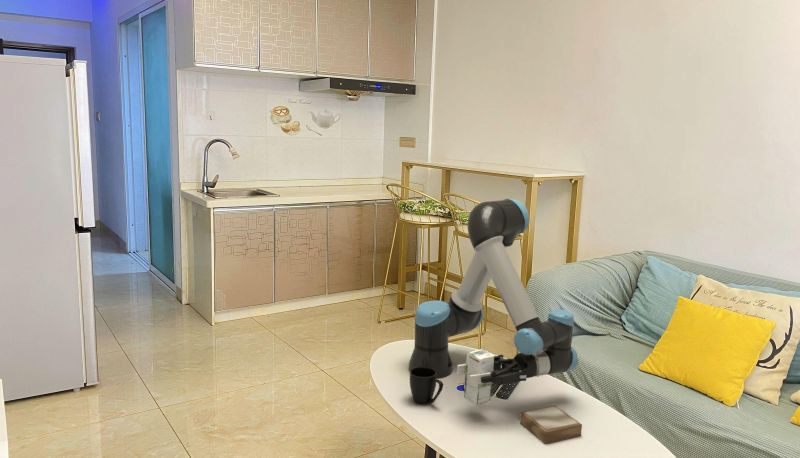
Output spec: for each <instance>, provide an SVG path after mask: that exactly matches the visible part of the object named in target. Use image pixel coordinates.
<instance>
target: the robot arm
mask: <svg viewBox="0 0 800 458" xmlns="http://www.w3.org/2000/svg"><path fill="white" fill-rule="evenodd" d="M529 224H530V214H529V211H528V209H527V207H526V206H525V204H524V203H523V202H522V201H520V200H518V199H513V198H511V199H510V198H505V199H503V200H502V199H500V200H492V201H484V202H480V203H478V204H476V205H475V206H474V207H473V208H472V209H471V211H470V213H469V215H468V218H467V232H468V237H469V240H470V242H471V246H472V248H473V249H474V254H473V256H472V259H470V263H469V265H468V267H467V268H466V269H467V270H466V272H465V274H464V276H463V279H462V281H461V283H460V285H459V288H458V289H456V290H454V291H452V292H451V294H450V297H449V299H448V301H447V302H446V301H443V300H429V301H424V302H422V303H420V304H419V305H418V306H417V307H416V308H415V316H414V347H413V351H412V354H411V356H410V359H409V362H408V370H409V372H410V370H411V369H413V368H415V367H429V368H432V369H434V370H435V371H436V372H437V374H436V379H440V378H445V377H448V376H450V375H451V374H452V372H453V362H452V358H451V353H450V351H449V338H451V337H454V336H457V335H461V334H466V333H468V332H470V331H472V330H475V329H477V328H478V327H479V326H480V325H481V323H482V322H483V319H484V313H483V311H484V308H483V305H484V304H483V302H482V298H483V296H484V294H485V292H486V290H487V288H488V286H489V284H490V281H491V280H492V281H493V284H494V286H495V288H496V290H497V292H498V295H499V296H500V298H501V300H502V303H503V305H504V307H505V309H506V311H507V313H508V315H509V317H510V320H511V322H512V323H513V326H514V328H515V330H516V332H515V334H514V337H513V340H514V347H515V348H516V350H517V351H518V352H519V353H517V354H515V356H514V357H513V358H504V355H503V354H498V355H493V356H494V365H493V371H492V375H491V373H490V372H488V373H482V374H475V375H470V377H469V385H476V384H482V383H488V382H492V384H495V383H496V386H503V385H504V386H505V385H508V384H512V383H516V382H525V381H527V379H530V378H534V377H540V376H547V375H553V374H560V373H561V374H562V373H567V372H570V371H573V370H575V369H576V368H577V367H578V365H579V357H578V355H579V354H578V353H577V350H576V349H575V348H574V347H573V346H572V343H573V335H574V334H573V333H574V327H575V326H574V320H575V317H574V315H573V313H572V312H571V311H569V310H566V309H561V308H560V309H557V308H556V309H554V308H553V309H551V310H550V311H549V313H548V316H547V320H545V321H541V319H540V317H539V315H538V313H537V311H536V309H535V307H534V305H533V303H532V301H531V299H530V297H529V295H528V292H527V291H526V289H525V286H524V284H523V283H522V282H523V281H522V280H521V279H520V276H519V275H518V272H517V270H516V268H515V266H514V264H513V262H512V260H511V257H510V255H509V254H508V251H507V249H506V248H509V247H512V246H513V244H514V242H515V240H516V238H517V237H518V235H520V234H522V233H524V232H525V231H527V229H528V228H529ZM465 372H466V363H462V364H457V366H456V374H457V375H458V376H460V375H464V374H465Z"/></svg>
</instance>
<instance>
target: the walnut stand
mask: <svg viewBox="0 0 800 458" xmlns="http://www.w3.org/2000/svg"><path fill="white" fill-rule="evenodd" d="M519 423H520V424H521V426H523V427H524V428H525V429H526V430H527V431H529V432H530V433H531V434H532V435H534V437H536V438H537V439H538V440H539V441H541V442H542V443H544V444H545V445H548V444H553V443H557V442H561V441H566V440H570V439H575V438H579V437H581V436H582V428H583V424H582V423H580V422H579V421H578V420H576V419H575V418H573V417H572V416H571V415H569V414H568V413H566V412H565V411H563V410H562V408H559V407H558V406H557V405H550V406H546V407H540V408H537V409H536V408H535V409H531V410H526V411H521V412H520V420H519Z"/></svg>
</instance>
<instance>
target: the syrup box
mask: <svg viewBox="0 0 800 458" xmlns="http://www.w3.org/2000/svg"><path fill="white" fill-rule="evenodd" d="M494 356H495V355H493V354H492V353H491V352H489V351H487V350H486V349H485V350H484V349H483V348H480V349H477V350H473V351H470V352H466V361H465V364H466V372H465V375H464V388H463V398H464V399H465V400H467V401H468V402H470V403H472V404H473V405H476V406H479V405H482V404H485V403H488V402H490V401H491V399H492V398H491V397H492V388H493V383H492V382H488V383H482V384H476V385H469V377H470V375H475V374H482V373H488V372H490V373H491V375H492V371H493V372H494V370H493V365H494Z"/></svg>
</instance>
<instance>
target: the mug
mask: <svg viewBox="0 0 800 458" xmlns="http://www.w3.org/2000/svg"><path fill="white" fill-rule="evenodd" d="M436 374H437V372H436V371H435V370H434V369H432V368H429V367H415V368H413V369H411V370H410V371H409V387H410V392H411V396H412V399H413V402H414V403H415V404H416V405H421V406H425V405H429V404H433V403H434V402H435V401H436V400H437V399H438V397H439V396H440V394H441V393H442V391H443V388H444V382H443V381H442V380H440V379H439V378H436ZM437 384H438V389H437V392H436V394H435V391H436V385H437ZM434 394H435V395H434Z"/></svg>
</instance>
